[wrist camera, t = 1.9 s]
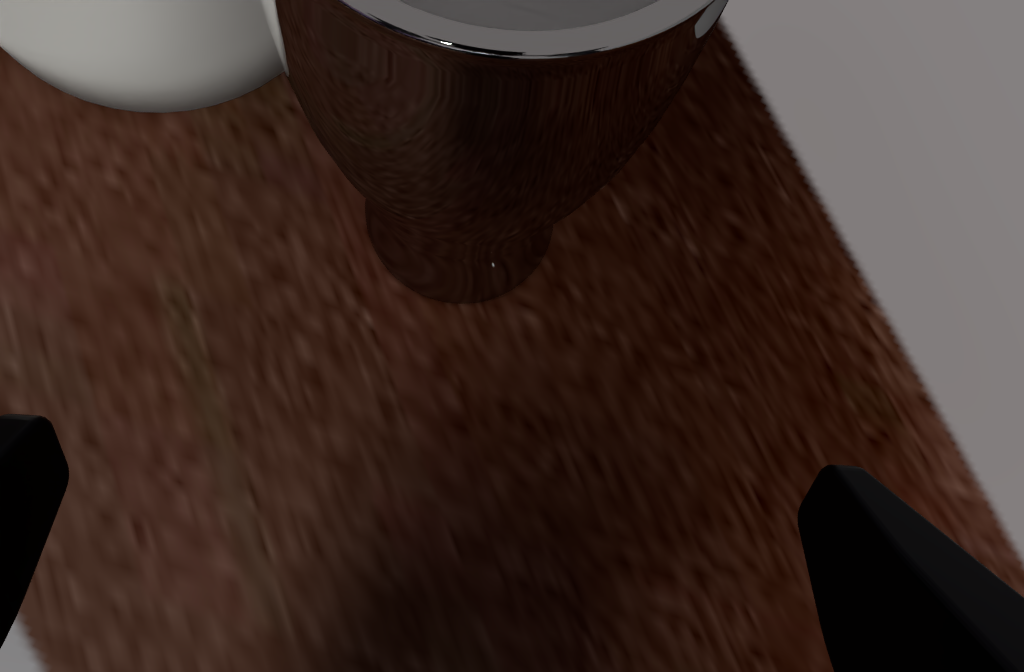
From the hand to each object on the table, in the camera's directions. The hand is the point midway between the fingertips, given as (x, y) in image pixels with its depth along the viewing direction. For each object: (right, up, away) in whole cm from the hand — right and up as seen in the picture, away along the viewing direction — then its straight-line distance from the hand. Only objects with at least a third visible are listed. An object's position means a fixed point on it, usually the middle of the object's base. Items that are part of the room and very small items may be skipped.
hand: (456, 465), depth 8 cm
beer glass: (-1, +6, +14) cm, 15 cm away
